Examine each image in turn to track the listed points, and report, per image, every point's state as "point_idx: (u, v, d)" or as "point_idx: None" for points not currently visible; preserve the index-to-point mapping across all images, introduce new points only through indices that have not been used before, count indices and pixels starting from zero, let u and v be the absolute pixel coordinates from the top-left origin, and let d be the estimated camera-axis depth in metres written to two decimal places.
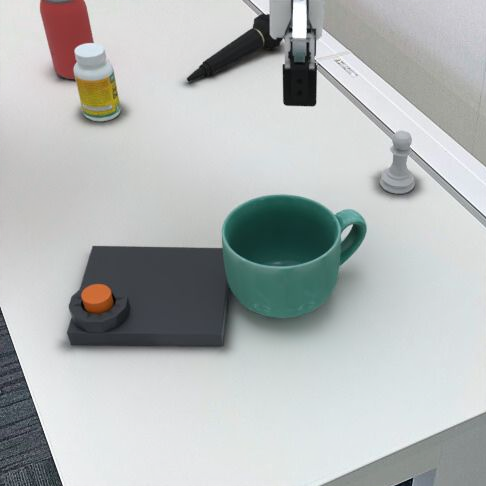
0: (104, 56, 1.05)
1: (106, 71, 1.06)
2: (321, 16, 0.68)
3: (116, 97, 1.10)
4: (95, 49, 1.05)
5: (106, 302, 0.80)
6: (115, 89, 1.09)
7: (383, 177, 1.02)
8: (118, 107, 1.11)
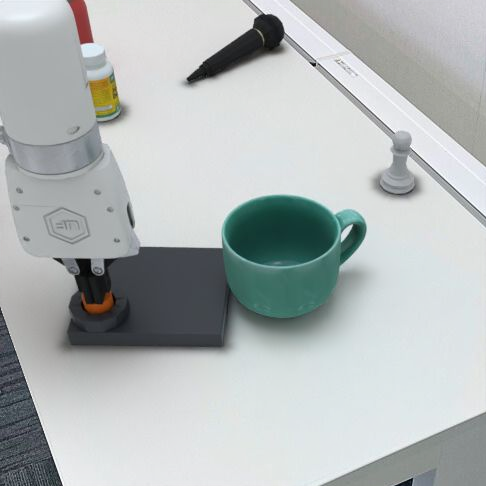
0: (104, 56, 1.05)
1: (106, 71, 1.06)
2: (131, 208, 0.75)
3: (116, 97, 1.10)
4: (95, 49, 1.05)
5: (106, 303, 0.80)
6: (115, 89, 1.09)
7: (383, 177, 1.02)
8: (118, 107, 1.11)
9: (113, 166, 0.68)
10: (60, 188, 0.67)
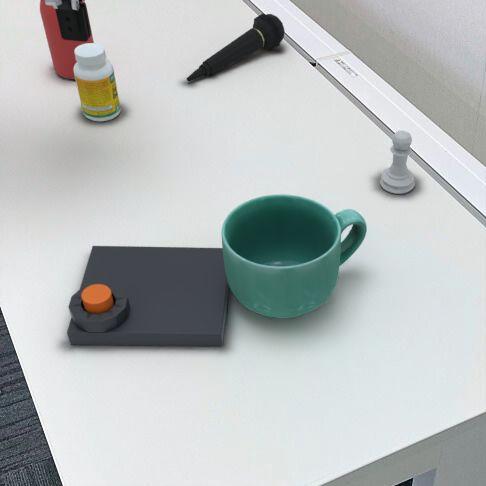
0: (104, 56, 1.05)
1: (106, 71, 1.06)
2: None
3: (116, 97, 1.10)
4: (95, 49, 1.05)
5: (106, 302, 0.80)
6: (115, 89, 1.09)
7: (383, 177, 1.02)
8: (118, 107, 1.11)
9: None
10: None
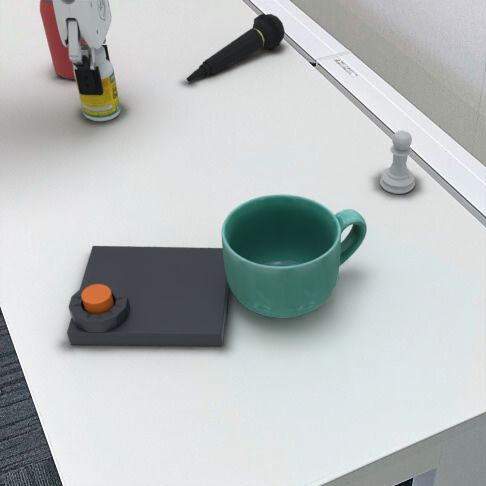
0: (104, 56, 1.05)
1: (106, 71, 1.06)
2: None
3: (116, 97, 1.10)
4: (95, 49, 1.05)
5: (106, 302, 0.80)
6: (115, 89, 1.09)
7: (383, 177, 1.02)
8: (118, 107, 1.11)
9: None
10: None
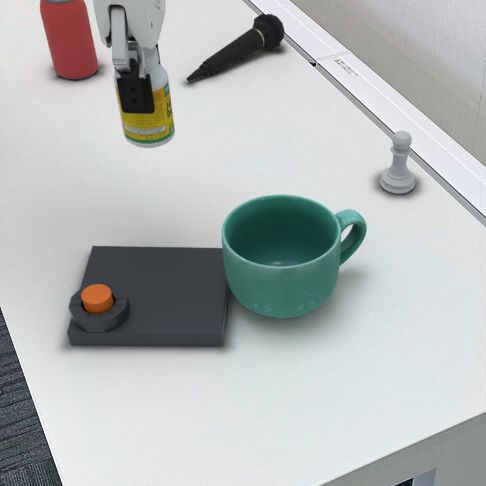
0: (157, 59, 0.76)
1: (159, 80, 0.76)
2: None
3: (171, 115, 0.80)
4: (144, 49, 0.76)
5: (106, 302, 0.80)
6: (169, 105, 0.79)
7: (383, 177, 1.02)
8: (172, 128, 0.81)
9: None
10: None
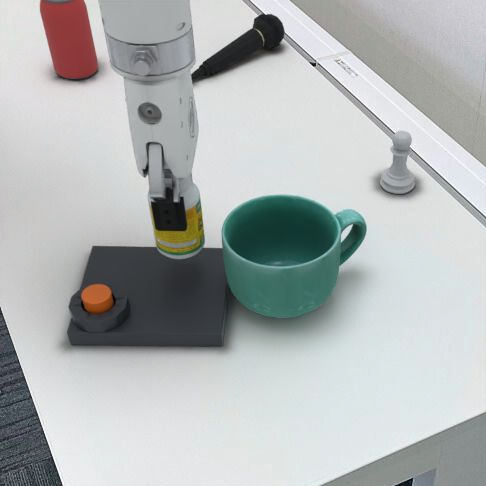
0: (190, 180, 0.78)
1: (192, 199, 0.79)
2: None
3: (201, 228, 0.83)
4: None
5: (106, 302, 0.80)
6: (201, 219, 0.82)
7: (383, 177, 1.02)
8: (203, 239, 0.84)
9: None
10: (186, 76, 0.71)
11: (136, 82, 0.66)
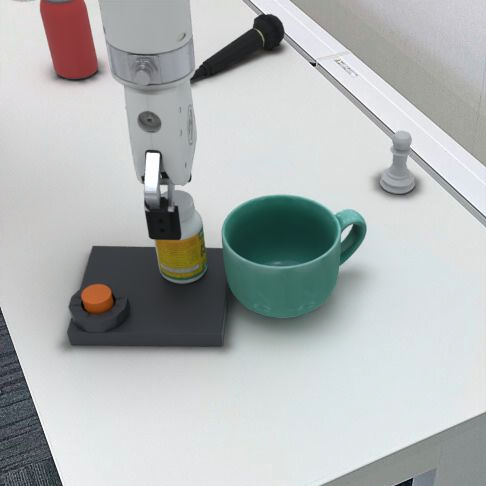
0: (193, 209, 0.81)
1: (195, 227, 0.81)
2: None
3: (204, 254, 0.85)
4: (182, 200, 0.81)
5: (106, 302, 0.80)
6: (203, 245, 0.84)
7: (383, 177, 1.02)
8: (205, 264, 0.86)
9: None
10: (186, 84, 0.71)
11: (137, 91, 0.67)
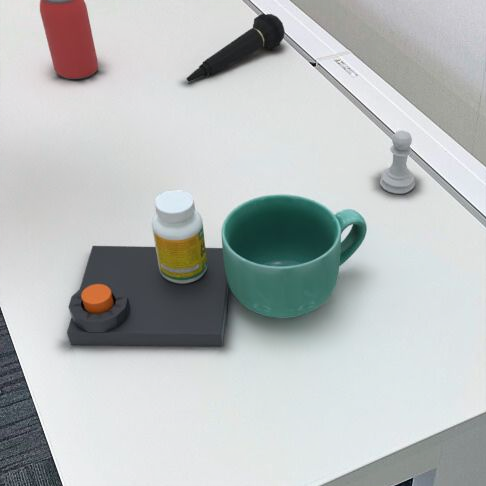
0: (193, 209, 0.81)
1: (195, 227, 0.81)
2: None
3: (204, 254, 0.85)
4: (182, 200, 0.81)
5: (106, 302, 0.80)
6: (203, 245, 0.84)
7: (383, 177, 1.02)
8: (205, 264, 0.86)
9: None
10: None
11: None
